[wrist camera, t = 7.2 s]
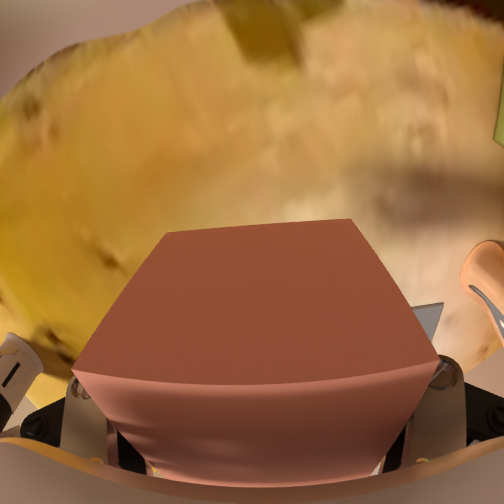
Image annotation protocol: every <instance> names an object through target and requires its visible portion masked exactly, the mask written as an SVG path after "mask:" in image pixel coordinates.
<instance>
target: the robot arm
mask: <svg viewBox="0 0 504 504" xmlns="http://www.w3.org/2000/svg"><path fill="white" fill-rule="evenodd" d="M438 356H439V358H440V362H439V364H438V366H437V368H436V370H435V372H434V374H433V376H432V378H431V380H430V382H429V384H428V386H427V388H426V390H425V392H424V394H423V396H422V398H421V399H420V401H419V403H418V405H417V406H416V408H415V410H414V412H413V413H412V415H411V417H410V418H409V420H408V422H407V423H406V425H405V427H404V428H403V430H402V431H401V433H400V434H399V436H398V437H397V439H396V440H395V442H394V443H393V445H392V446H391V448H390V449H389V451H388V452H387V453H386V455H385V456H384V458H383V459H382V460H381V464H380V468H379V472H378V475H374V476H369V477H364V478H359V479H353V480H347V481H341V482H334V483H326V484H317V485H306V486H292V487H229V486H215V485H205V484H196V483H188V482H181V481H175V480H169V479H163V478H157V477H153V471H152V465H151V464H150V463H149V462H148V461H147V460H146V459H145V458H144V457H143V456H142V455H141V454H140V453H139V452H138V451H137V450H136V449H135V448H134V447H133V446H132V445H131V444H130V443H129V442H128V441H127V440H126V439H125V437H124V436H123V435H122V434H121V433H120V432H119V431H118V430H117V429H116V427H115V426H114V425H113V424H112V423H111V422H110V420H109V419H108V418H107V417H106V416H105V414H104V413H103V412H102V411H101V409H100V408H99V407H98V406H97V404H96V403H95V402H94V401H93V399H92V398H91V397H90V395H89V394H88V393H87V391H86V390H85V389H84V387H83V386H82V384H81V383H80V382H79V380H78V379H77V377H76V376H75V375H74V376H73V377H72V379H71V380H70V382H69V384H68V387H67V392H66V397H64V398H62V399H60V400H58V401H56V402H54V403H52V404H49V405H47V406H45V407H43V408H41V409H39V410H37V411H35V412H33V413H31V414H29V415H28V416H27V417H26V418H25V419H24V421H23V423H22V425H21V427H20V426H19V425H18V426H15V427H13V428H11V429H8V430H6V431H4V432H1V433H0V504H504V398H502V397H500V396H497V395H495V394H493V393H490V392H488V391H485V390H483V389H480V388H478V387H475V386H473V385H471V384H468V383H466V382H464V377H463V372H462V369H461V367H460V366H459V364H458V363H457V362H456V361H454V360H453V359H452V358H450V357H447V356H444V355H438Z"/></svg>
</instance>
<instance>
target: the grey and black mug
mask: <svg viewBox="0 0 504 504" xmlns="http://www.w3.org/2000/svg"><path fill="white" fill-rule="evenodd" d="M43 371H44V366H43V363H42V361H41V360H40V358H39V356H38V355H37V354H36V352H35V351H34V350H33V349H32V348H31V347H30V346H29V345H28V344H27V343H26V342H25V341H24V340H23V339H21V338H20V337H19V336H17V335H15V334H13V333H7V334H6V337H5V340H4V342H3V343H2V345H1V346H0V433H1V432H2V431H3V429H4V427H5V425H6V423H7V422H8V420H9V418H10V416H11V415H12V414H14V412H15V410H16V408H17V407H18V405H19V403H20V402H21V400H22V399H23V397H24V395H25V394H26V392H27V390H28V389H29V387H30V386H31V384H32V383H33V381H34V380H35V378H36V376H37V375H38V374H40V373H42V372H43Z"/></svg>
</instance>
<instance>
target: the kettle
mask: <svg viewBox="0 0 504 504" xmlns="http://www.w3.org/2000/svg"><path fill="white" fill-rule="evenodd" d="M493 140H494V141H495V142H497V143H498V144H499V145H501V146H502V147H503V148H504V69H503V81H502V91H501V99H500V106H499V112H498V118H497V124H496V129H495V134H494V139H493Z"/></svg>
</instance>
